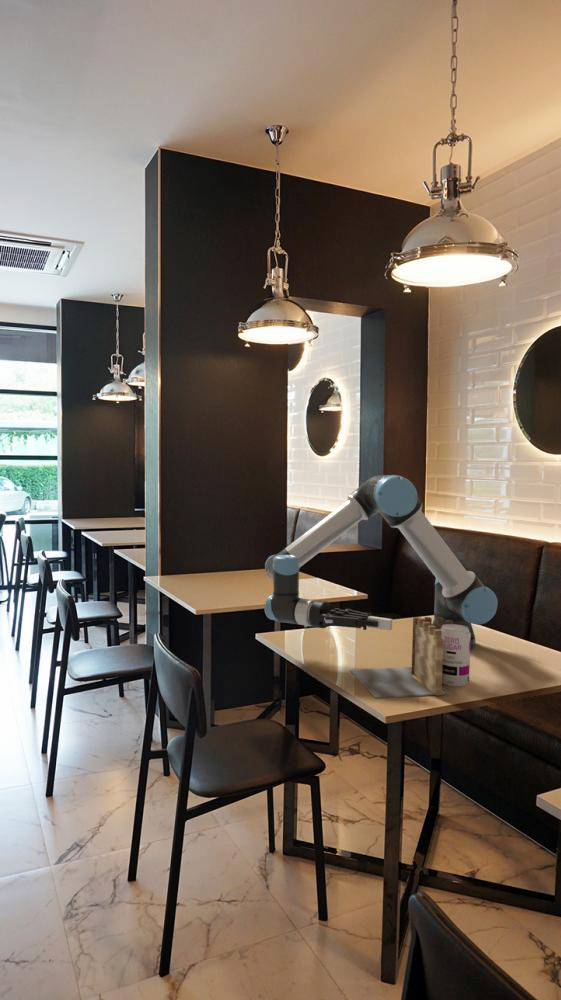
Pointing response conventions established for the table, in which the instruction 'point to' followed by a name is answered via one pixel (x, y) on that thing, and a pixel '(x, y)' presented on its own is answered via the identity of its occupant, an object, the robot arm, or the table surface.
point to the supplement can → (455, 655)
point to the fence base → (398, 675)
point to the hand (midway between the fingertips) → (390, 624)
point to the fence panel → (428, 656)
